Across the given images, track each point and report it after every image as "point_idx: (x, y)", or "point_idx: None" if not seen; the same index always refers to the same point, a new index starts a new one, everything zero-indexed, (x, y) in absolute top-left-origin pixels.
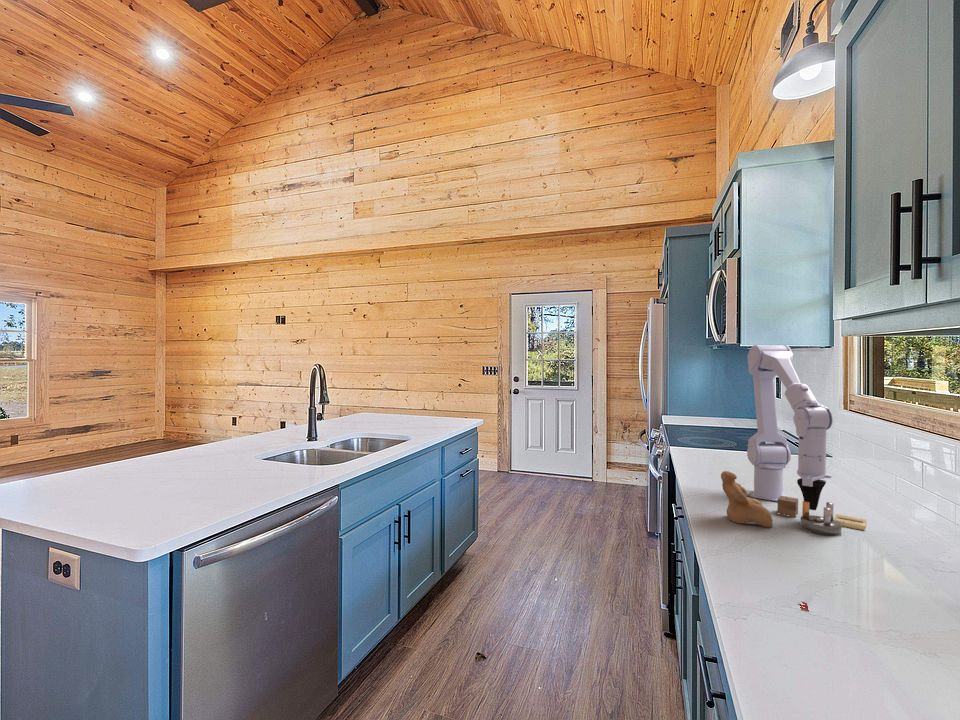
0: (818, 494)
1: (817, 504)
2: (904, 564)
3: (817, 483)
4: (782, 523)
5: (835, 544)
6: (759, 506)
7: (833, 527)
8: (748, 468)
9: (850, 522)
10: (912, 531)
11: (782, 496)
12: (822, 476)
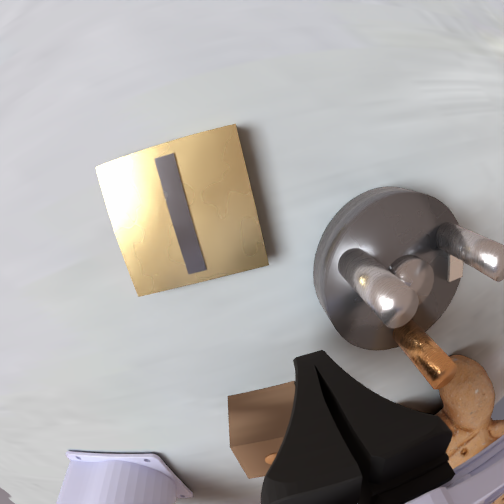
0: (388, 400)
1: (331, 366)
2: (477, 8)
3: (397, 473)
4: (401, 363)
5: (489, 172)
6: (490, 405)
7: (448, 209)
8: (8, 488)
9: (230, 196)
10: (67, 20)
11: (257, 473)
12: (480, 493)
